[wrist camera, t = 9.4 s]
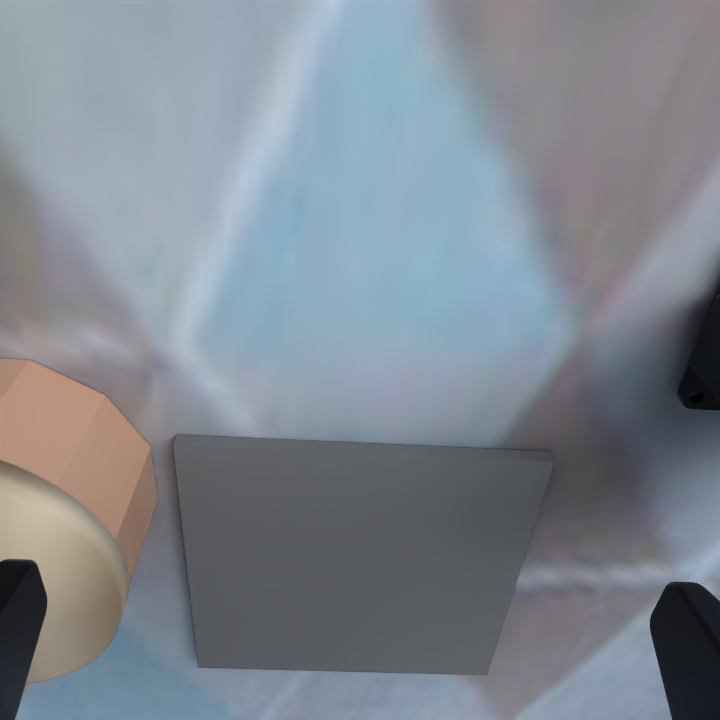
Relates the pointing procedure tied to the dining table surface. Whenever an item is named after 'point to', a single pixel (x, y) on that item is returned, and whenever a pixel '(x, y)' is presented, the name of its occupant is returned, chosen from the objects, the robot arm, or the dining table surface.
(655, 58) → the dining table surface
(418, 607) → the mat
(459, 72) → the dining table surface
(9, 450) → the bowl
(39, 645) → the lid
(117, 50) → the dining table surface
